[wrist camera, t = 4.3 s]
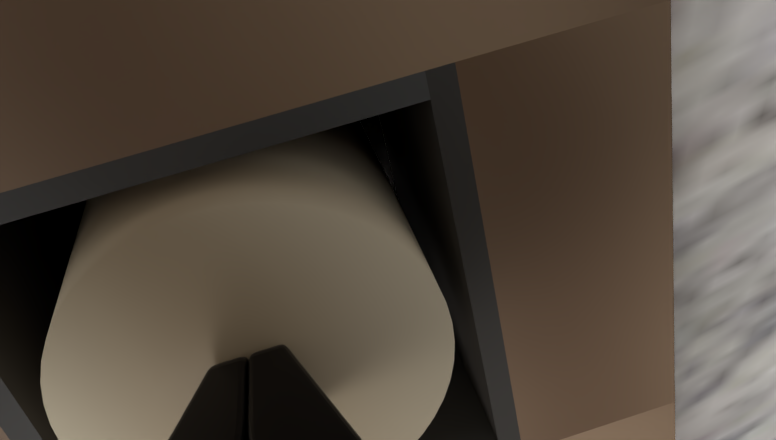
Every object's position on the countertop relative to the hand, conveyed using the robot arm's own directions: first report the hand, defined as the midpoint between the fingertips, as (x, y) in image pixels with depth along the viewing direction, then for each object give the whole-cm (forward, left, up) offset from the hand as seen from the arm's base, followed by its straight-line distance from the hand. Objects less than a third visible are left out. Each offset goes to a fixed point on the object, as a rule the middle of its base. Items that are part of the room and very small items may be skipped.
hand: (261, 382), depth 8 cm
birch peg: (0, 0, -5) cm, 5 cm away
